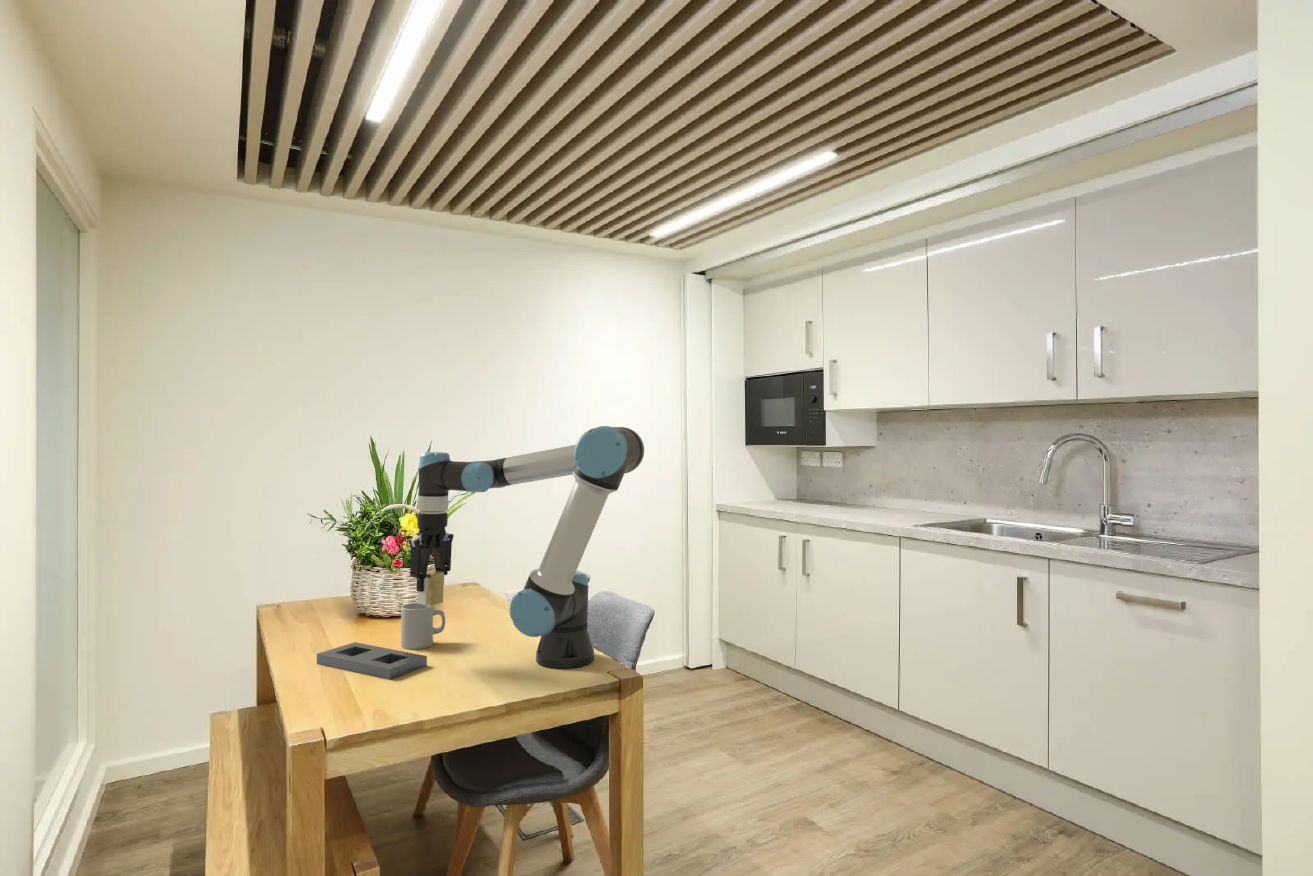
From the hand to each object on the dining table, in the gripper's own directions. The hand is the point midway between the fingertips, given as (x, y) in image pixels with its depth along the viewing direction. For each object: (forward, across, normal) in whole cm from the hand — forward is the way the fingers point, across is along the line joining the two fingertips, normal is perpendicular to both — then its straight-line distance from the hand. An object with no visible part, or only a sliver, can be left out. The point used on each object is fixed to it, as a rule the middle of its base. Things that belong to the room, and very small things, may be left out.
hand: (429, 601), depth 194 cm
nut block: (0, 0, 0) cm, 0 cm away
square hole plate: (+16, +9, -10) cm, 21 cm away
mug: (+16, -11, -13) cm, 23 cm away
